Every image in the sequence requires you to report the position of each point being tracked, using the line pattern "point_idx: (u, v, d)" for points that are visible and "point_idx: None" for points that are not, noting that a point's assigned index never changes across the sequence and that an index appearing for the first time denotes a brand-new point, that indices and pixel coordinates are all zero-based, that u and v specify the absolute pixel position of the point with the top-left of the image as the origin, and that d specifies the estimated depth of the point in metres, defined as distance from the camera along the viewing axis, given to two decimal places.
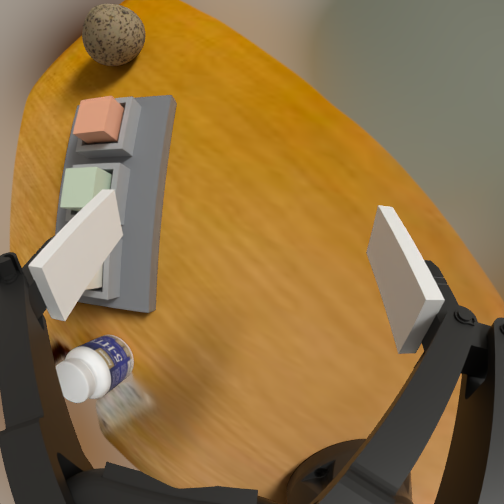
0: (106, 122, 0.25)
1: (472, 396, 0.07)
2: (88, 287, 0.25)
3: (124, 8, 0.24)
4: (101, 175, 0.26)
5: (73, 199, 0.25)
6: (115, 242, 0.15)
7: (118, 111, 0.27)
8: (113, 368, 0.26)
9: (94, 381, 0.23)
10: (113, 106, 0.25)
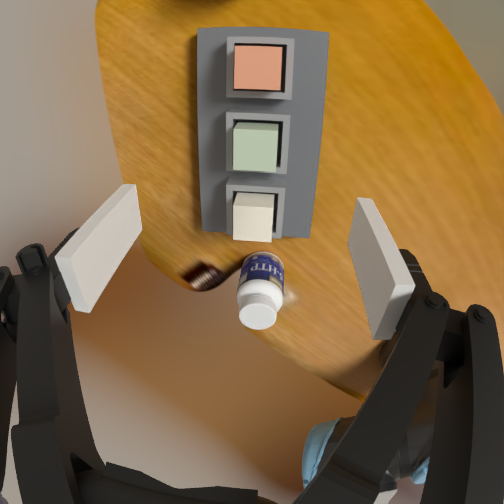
0: (280, 80, 0.22)
1: (451, 385, 0.08)
2: (271, 238, 0.31)
3: None
4: None
5: (250, 162, 0.26)
6: (135, 236, 0.16)
7: None
8: (282, 289, 0.36)
9: (276, 309, 0.34)
10: None
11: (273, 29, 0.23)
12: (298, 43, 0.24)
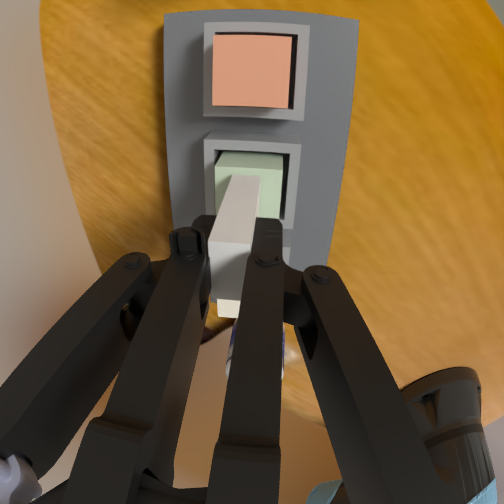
0: (288, 92, 0.14)
1: (315, 356, 0.09)
2: None
3: None
4: None
5: None
6: None
7: None
8: (283, 361, 0.28)
9: None
10: None
11: (276, 12, 0.15)
12: (313, 34, 0.15)
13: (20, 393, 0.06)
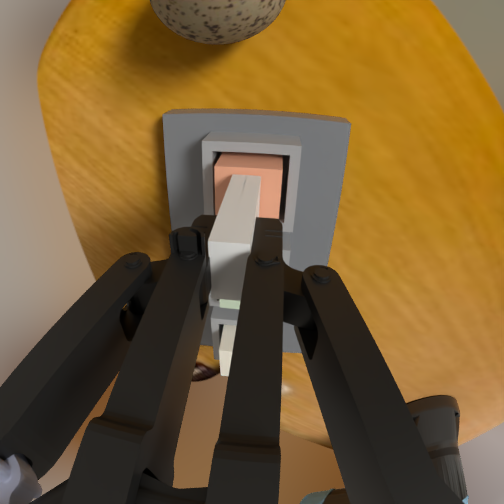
0: None
1: (315, 356, 0.09)
2: None
3: None
4: None
5: (239, 302, 0.22)
6: None
7: None
8: None
9: None
10: None
11: (270, 118, 0.18)
12: (306, 140, 0.19)
13: (20, 393, 0.06)
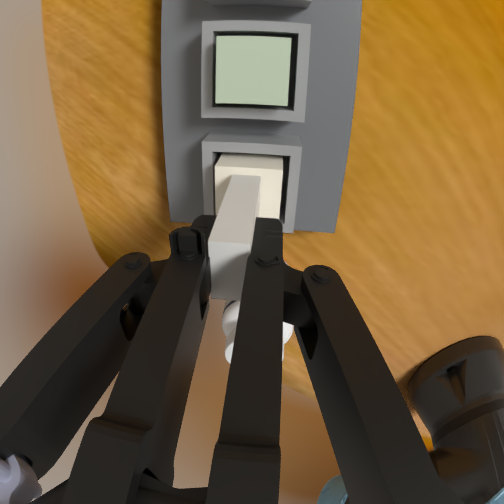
0: None
1: (315, 356, 0.09)
2: None
3: None
4: None
5: (244, 90, 0.14)
6: None
7: None
8: None
9: (283, 344, 0.21)
10: None
11: None
12: None
13: (20, 393, 0.06)
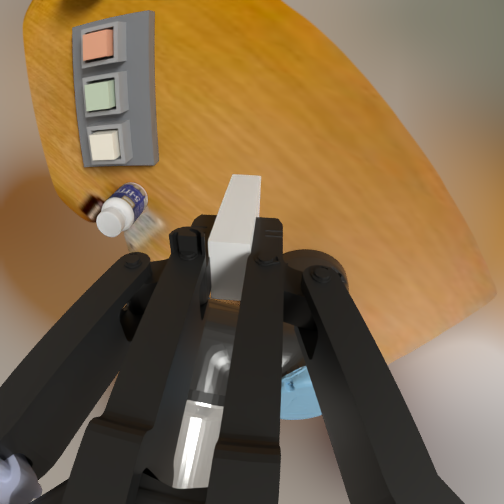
0: (107, 49, 0.29)
1: (315, 356, 0.09)
2: (116, 157, 0.38)
3: None
4: (111, 84, 0.33)
5: (94, 104, 0.34)
6: None
7: None
8: (134, 207, 0.43)
9: (123, 219, 0.41)
10: (109, 35, 0.29)
11: (114, 18, 0.30)
12: (129, 23, 0.30)
13: (20, 393, 0.06)
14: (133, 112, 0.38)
